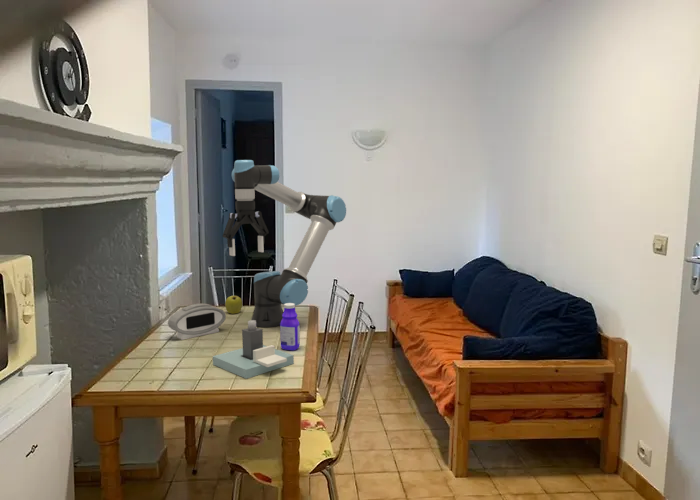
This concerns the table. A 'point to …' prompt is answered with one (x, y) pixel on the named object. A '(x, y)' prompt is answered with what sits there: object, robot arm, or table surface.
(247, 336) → the plug
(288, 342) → the bottle
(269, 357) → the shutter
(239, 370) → the socket plate
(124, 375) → the table surface
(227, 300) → the apple
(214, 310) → the alarm clock
